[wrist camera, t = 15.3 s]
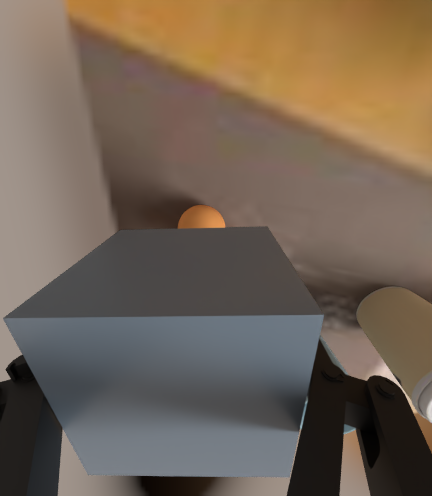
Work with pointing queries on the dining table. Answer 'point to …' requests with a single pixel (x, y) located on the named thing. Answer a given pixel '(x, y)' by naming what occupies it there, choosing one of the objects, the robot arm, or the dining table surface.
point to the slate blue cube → (176, 353)
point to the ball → (201, 218)
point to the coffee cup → (402, 340)
